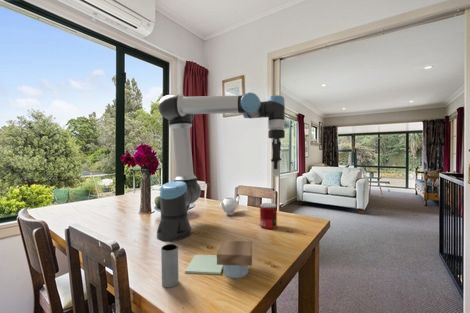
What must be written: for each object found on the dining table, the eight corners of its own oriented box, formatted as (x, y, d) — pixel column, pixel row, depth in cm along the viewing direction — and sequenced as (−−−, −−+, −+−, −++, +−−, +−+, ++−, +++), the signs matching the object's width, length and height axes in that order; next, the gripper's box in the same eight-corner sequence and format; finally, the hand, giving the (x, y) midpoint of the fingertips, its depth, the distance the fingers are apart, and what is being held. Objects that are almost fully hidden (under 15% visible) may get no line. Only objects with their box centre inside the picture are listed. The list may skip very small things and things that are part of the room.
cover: (216, 264, 63) (216, 254, 63) (222, 249, 73) (222, 240, 73) (251, 265, 62) (251, 255, 62) (252, 250, 72) (252, 241, 72)
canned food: (276, 230, 104) (276, 207, 104) (259, 229, 105) (259, 206, 105) (276, 224, 111) (276, 203, 111) (261, 224, 113) (260, 202, 113)
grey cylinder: (158, 286, 61) (157, 249, 61) (168, 277, 65) (168, 242, 65) (171, 289, 59) (171, 251, 59) (181, 280, 64) (181, 244, 63)
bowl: (221, 277, 64) (221, 262, 64) (225, 264, 72) (225, 251, 72) (247, 279, 64) (247, 263, 64) (248, 265, 71) (248, 251, 71)
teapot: (213, 216, 128) (212, 200, 128) (233, 209, 144) (233, 195, 144) (226, 219, 123) (225, 202, 122) (245, 211, 139) (245, 196, 139)
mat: (185, 272, 67) (185, 270, 67) (195, 256, 78) (195, 254, 78) (220, 274, 66) (220, 272, 66) (225, 257, 77) (225, 255, 77)
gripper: (284, 126, 90) (284, 178, 90) (285, 131, 114) (285, 172, 114) (265, 126, 92) (265, 177, 92) (270, 132, 116) (270, 172, 116)
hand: (276, 175), depth 103 cm, fingers open, 13 cm apart
